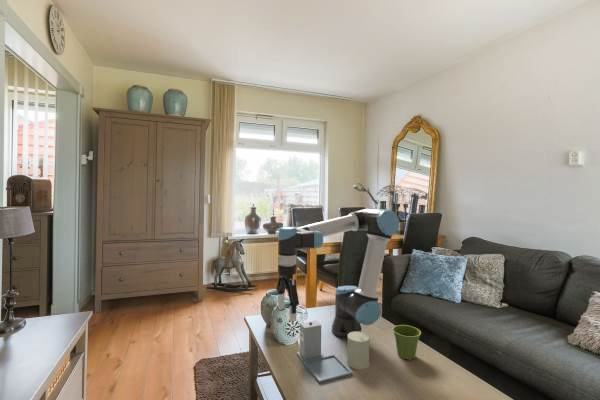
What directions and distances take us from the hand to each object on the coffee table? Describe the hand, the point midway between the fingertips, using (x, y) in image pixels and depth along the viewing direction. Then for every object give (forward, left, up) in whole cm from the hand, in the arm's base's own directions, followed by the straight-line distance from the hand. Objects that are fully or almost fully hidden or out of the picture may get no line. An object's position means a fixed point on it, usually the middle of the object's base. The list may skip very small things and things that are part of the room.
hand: (286, 314), depth 132 cm
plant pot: (-50, +16, -20) cm, 56 cm away
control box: (-11, 0, -20) cm, 23 cm away
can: (-27, +13, -20) cm, 36 cm away
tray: (-13, +12, -20) cm, 27 cm away
